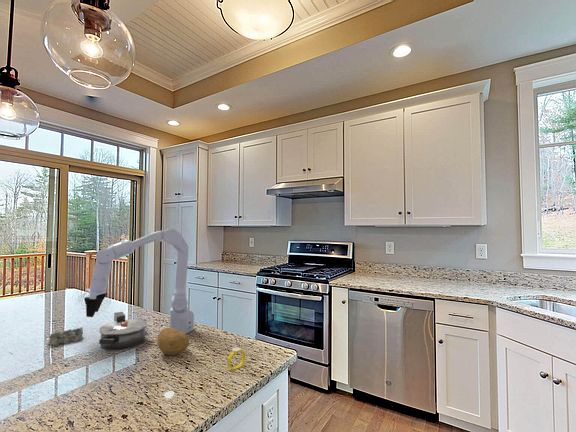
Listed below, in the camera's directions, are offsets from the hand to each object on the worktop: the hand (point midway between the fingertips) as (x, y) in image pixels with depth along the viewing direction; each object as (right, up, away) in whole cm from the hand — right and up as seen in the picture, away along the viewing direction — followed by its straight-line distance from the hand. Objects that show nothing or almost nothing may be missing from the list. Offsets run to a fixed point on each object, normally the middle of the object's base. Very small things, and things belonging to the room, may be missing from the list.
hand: (92, 314), depth 114 cm
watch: (+60, -10, -21) cm, 64 cm away
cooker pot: (+13, -11, +1) cm, 17 cm away
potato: (+36, -10, -11) cm, 39 cm away
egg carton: (-11, -11, +1) cm, 16 cm away
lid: (+11, -5, +2) cm, 12 cm away
